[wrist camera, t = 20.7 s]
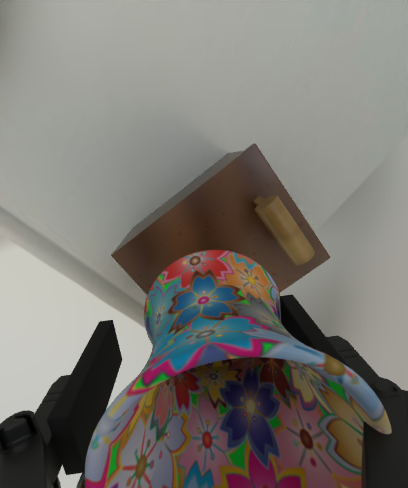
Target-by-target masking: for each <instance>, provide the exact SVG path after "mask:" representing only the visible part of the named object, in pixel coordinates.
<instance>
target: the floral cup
mask: <svg viewBox="0 0 408 488" xmlns="http://www.w3.org/2000/svg"><path fill="white" fill-rule="evenodd" d="M144 320H145V326H146V331H147V334H148V337H149V339H150V341H151V343H152V344H153V349H152V353H151V355H150V358H149V360H148V362H147V364H146V365H145V367H144V369H143V370H142V371H141V373H140V374H139V375H138V376H137V377H136V379H135V380H133V381H132V382H131V383H130V384H129V385H128V386H127V387H126V388H125V389H124V390H123V391H122V392H121V393H120V394H119V395H118V396H117V397H116V399H115V400H114V401H113V402H112V404H111V405H110V406H109V407H108V409H107V410H106V411H105V413H104V415H103V416H102V418H101V419H100V421H99V423H98V425H97V427H96V429H95V431H94V433H93V436H92V439H91V442H90V445H89V448H88V451H87V456H86V461H85V472H83V473H82V475H81V477H80V480H79V482H78V484H77V488H362V485H361V476H362V441H363V422H364V421H365V422H366V423H367V424H369V425H370V426H371V427H373V428H374V429H375V430H377V431H379V432H381V433H383V434H390V433H391V432H392V429H391V425H390V422H389V419H388V416H387V413H386V411H385V409H384V407H383V405H382V403H381V401H380V400H379V399H378V397H377V396H376V394H375V393H374V391H373V390H372V389H371V388H370V387H369V385H368V384H367V383H366V382H365V381H364V380H363V379H362V378H361V377H360V376H359V375H358V374H356V373H355V372H354V371H353V370H352V369H350V368H349V367H347V366H346V365H344V364H343V363H341V362H340V361H338V360H336V359H335V358H333V357H331V356H329V355H327V354H325V353H323V352H320V351H318V350H315V349H313V348H311V347H309V346H306V345H304V344H303V343H301V342H300V341H298V340H297V339H295V338H294V337H293V336H292V335H291V334H290V333H289V332H288V331H287V330H286V329H285V328H284V326H283V325H282V323H281V312H280V294H279V291H278V288H277V286H276V284H275V282H274V280H273V279H272V277H271V276H270V275H269V273H268V272H267V271H266V270H265V269H264V268H263V267H262V266H261V265H259V264H258V263H257V262H255V261H254V260H252V259H250V258H248V257H246V256H244V255H241V254H238V253H235V252H231V251H225V250H206V251H200V252H196V253H192V254H190V255H187V256H185V257H183V258H180V259H179V260H177V261H175V262H174V263H172V264H171V265H170V266H168V267H167V268H166V269H165V270H164V271H163V272H162V273H161V274H160V275H159V276H158V278H157V279H156V280H155V282H154V283H153V285H152V286H151V288H150V291H149V293H148V296H147V298H146V303H145V309H144Z"/></svg>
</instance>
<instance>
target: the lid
mask: <svg viewBox="0 0 408 488" xmlns="http://www.w3.org/2000/svg"><path fill="white" fill-rule="evenodd" d="M206 250H225V251H231V252H235V253H238V254H241V255H244V256H246V257H248V258H250V259H252V260H254V261H255V262H257V263H258V264H259V265H261V266H262V267H263V268H264V269H265V270H266V271H267V272H268V273H269V275H270V276H271V277H272V279H273V280H274V282H275V284H276V286H277V288H278V291H279V293H280V292H281V291H282V290H284V289H286V288H287V287H289V286H290V285H292V284H293V283H294V282H296V281H297V280H299V279H300V278H302V277H303V276H305V275H306V274H307V273H309V272H310V271H312V270H313V269H315V268H316V267H318V266H319V265H321V264H322V263H323V262H325V261H326V260H328V259H329V258H330V256H329V254H328V253H327V251H326V250H325V249H324V247H323V245H322V244H321V242H320V241H319V239H318V238H317V236H316V235H315V233H314V232H313V230H312V229H311V227H310V226H309V224H308V223H307V221H306V220H305V218H304V217H303V215H302V213H301V212H300V210H299V209H298V207H297V206H296V204H295V203H294V201H293V200H292V198H291V197H290V195H289V194H288V192H287V191H286V189H285V188H284V186H283V185H282V183H281V182H280V180H279V179H278V177H277V176H276V174H275V173H274V171H273V170H272V168H271V166H270V165H269V163H268V162H267V160H266V159H265V157H264V156H263V154H262V153H261V151H260V150H259V148H258V147H257V145H256V144H252V145H251V146H250V147H248V148H247V149H246V150H244V151H243V152H242V153H241V154H239V155H238V156H237V157H235V158H234V159H233V160H232V161H230V162H229V163H228V164H226V165H225V166H224V167H223V168H221V169H220V170H219V171H217V172H216V173H215V174H214V175H212V176H211V177H210V178H208V179H207V180H206V181H205V182H203V183H202V184H201V185H199V186H198V187H197V188H196V189H194V190H193V191H192V192H190V193H189V194H188V195H187V196H185V197H184V198H183V199H181V200H180V201H179V202H178V203H176V204H175V205H174V206H172V207H171V208H170V209H169V210H167V211H166V212H165V213H163V214H162V215H161V216H160V217H158V218H157V219H156V220H154V221H153V222H152V223H151V224H149V225H148V226H147V227H145V228H144V229H143V230H142V231H140V232H139V233H138V234H136V235H135V236H134V237H133V238H131V239H130V240H129V241H127V242H126V243H125V244H124V245H122V246H121V247H120V248H118V249H117V250H116V251H115V252H113V254H112V255H111V256H112V257H113V258H114V259H115V260H116V261H117V262H118V263H119V264H120V266H121V267H122V268H123V269H124V270H125V271H126V272H127V273H128V274H129V275H130V276H131V278H132V279H133V280H134V281H135V282H136V283H137V284H138V285H139V286H140V287H141V288H142V290H143V291H144V292H145V293H146V294H147V295H148V293H149V291H150V288H151V286H152V285H153V283H154V282H155V280H156V279H157V278H158V276H159V275H160V274H161V273H162V272H163V271H164V270H165V269H166V268H167V267H168V266H170V265H171V264H172V263H174V262H175V261H177V260H179V259H180V258H183V257H185V256H187V255H190V254H192V253H196V252H200V251H206Z"/></svg>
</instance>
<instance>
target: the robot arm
mask: <svg viewBox="0 0 408 488" xmlns="http://www.w3.org/2000/svg"><path fill="white" fill-rule="evenodd" d="M280 312H281V323H282V325H283V326H284V328H285V329H286V330H287V331H288V332H289V333H290V334H291V335H292V336H293V337H294V338H295V339H297V340H298V341H300V342H301V343H303V344H304V345H306V346H309V347H311V348H313V349H315V350H318V351H320V352H323V353H325V354H327V355H329V356H331V357H333V358H335V359H336V360H338V361H340V362H341V363H343V364H344V365H346V366H347V367H349V368H350V369H352V370H353V371H354V372H355V373H356V374H358V375H359V376H360V377H361V378H362V379H363V380H364V381H365V382H366V383H367V384H368V385H369V387H370V388H371V389H372V390H373V391H374V393H375V394H376V396H377V397H378V399H379V400H380V401H381V403H382V405H383V407H384V409H385V411H386V413H387V416H388V419H389V422H390V425H391V429H392V432H391V433H390V434H383V433H381V432H379V431H377V430H375V429H374V428H373V427H371V426H370V425H369V424H367V423H366V422H365V421H364V422H363V441H362V476H361V485H362V488H408V391H405V390H401V389H400V388H399V387H398V386H397V385H396V384H395V383H393V382H392V381H390V380H388V379H384V378H381V377H379V376H378V375H377V374H376V373H375V372H374V370H373V369H372V368H371V367H370V366H369V365H368V364H367V363H366V361H365V360H364V359H363V358H362V357H361V356H360V355H359V354H358V352H357V351H356V350H354V348H353V347H352V346H351V345H350V343H349V342H348V341H346V340H344V339H343V338H341V337H339V336H331V337H325V335H324V334H323V333H322V332H321V330H320V329H319V328H318V326H317V325H316V324H315V323H314V321H313V320H312V319H311V318H310V316H309V315H308V314H307V312H306V311H305V310H304V309H303V307H302V306H301V305H300V304H299V302H298V301H297V300H296V299H295V297H294V296H293V295H287V296H280ZM121 362H122V356H121V352H120V348H119V344H118V340H117V336H116V332H115V328H114V324H113V320H108V321H101V322H99V324H98V325H97V327H96V329H95V331H94V333H93V335H92V337H91V338H90V340H89V342H88V344H87V346H86V348H85V349H84V351H83V353H82V355H81V357H80V359H79V361H78V362H77V364H76V366H75V368H74V370H73V372H72V374H71V375H66V376H61V377H60V378H59V379H58V380H57V381H56V382H54V383H53V384H52V386H51V388H50V389H49V391H48V393H47V395H46V396H45V397H44V399H43V401H42V403H41V404H40V406H39V408H38V409H37V411H36V413H35V414H34V412H32V411H21V412H18V413H15V414H14V415H12V416H10V417H9V418H7V419H6V420H4V421H3V422H2V423H1V424H0V488H61V487H60V481H59V479H58V473H59V471H60V469H61V466H62V465H63V467H64V470H65V473H66V475H69V474H76V473H83V472H85V461H86V456H87V451H88V448H89V445H90V442H91V439H92V436H93V433H94V431H95V429H96V427H97V425H98V423H99V421H100V419H101V418H102V416H103V415H104V413H105V411H106V408H107V405H108V402H109V399H110V396H111V393H112V390H113V387H114V383H115V380H116V377H117V374H118V371H119V368H120V365H121Z"/></svg>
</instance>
